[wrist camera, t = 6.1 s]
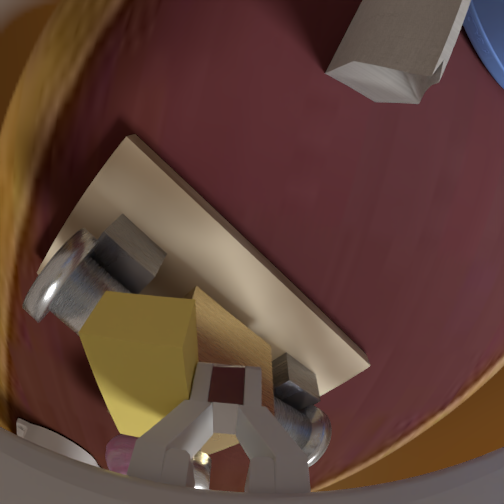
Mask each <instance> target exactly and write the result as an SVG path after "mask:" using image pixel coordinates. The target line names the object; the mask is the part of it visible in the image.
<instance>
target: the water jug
mask: <svg viewBox="0 0 504 504" xmlns="http://www.w3.org/2000/svg"><path fill="white" fill-rule="evenodd" d="M463 26H464V29H465V31H466V33H467V35H468V37H469V39H470V41H471V43H472V45H473V47H474V49H475V51H476V52H477V54H478V56H479V57H480V59H481V61H482V62H483V64H484V65H485V67H486V68H487V70H488V71H489V72H490V74H491V75H492V76H493V78H494V79H495V80H496V81H497V83H498V84H499V85H500V86H501V87H502V88H503V89H504V0H471V2H470V5H469V8H468V10H467V13H466V16H465V19H464V22H463Z"/></svg>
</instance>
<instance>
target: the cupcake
mask: <svg viewBox="0 0 504 504" xmlns="http://www.w3.org/2000/svg"><path fill="white" fill-rule="evenodd" d="M138 438H139V437H134V436H129V435H125V434H120V435H118V436H115V437H114V438H113V439H112V440H110V441H109V443H108V444H107V447H106V455H105V457H106V461H107V465H108V468H109V470H110V471H113V472H117V473H121V474H125V475H126V474H127V471H128V467H129V464H130V460H131V456H132V453H133V449H134V446H135V443H136V440H137V439H138Z"/></svg>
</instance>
